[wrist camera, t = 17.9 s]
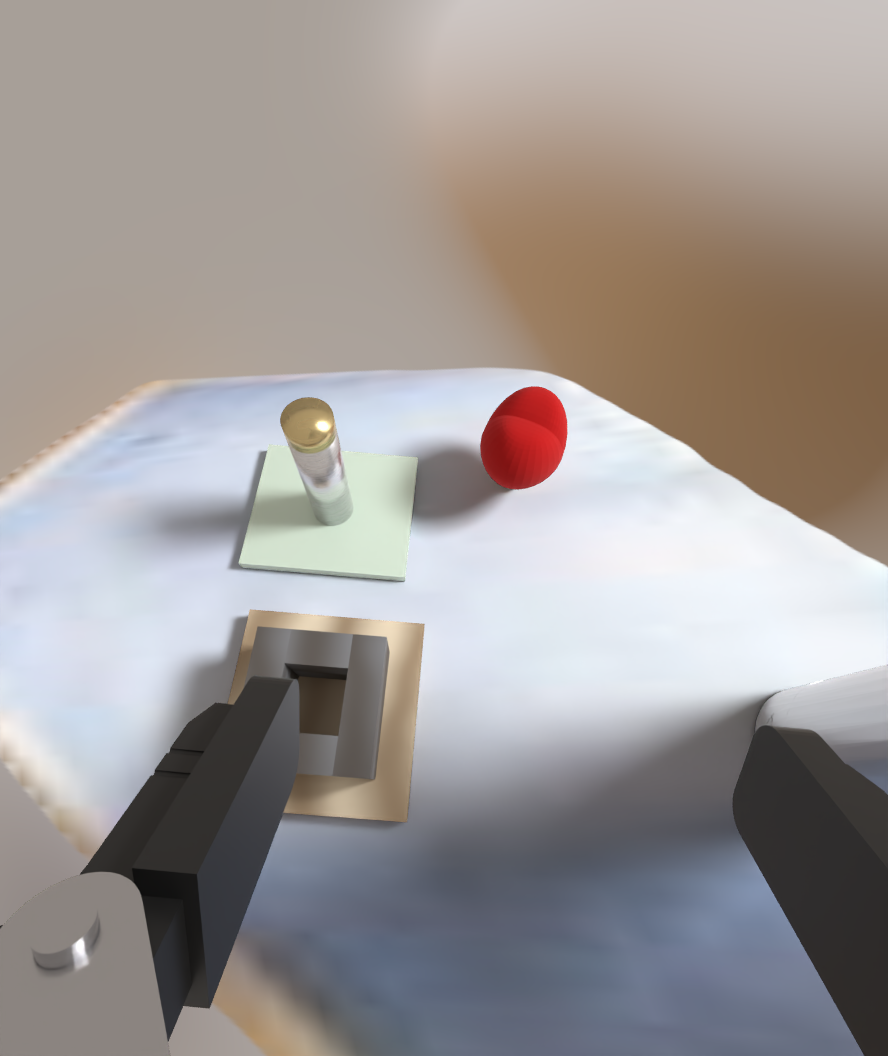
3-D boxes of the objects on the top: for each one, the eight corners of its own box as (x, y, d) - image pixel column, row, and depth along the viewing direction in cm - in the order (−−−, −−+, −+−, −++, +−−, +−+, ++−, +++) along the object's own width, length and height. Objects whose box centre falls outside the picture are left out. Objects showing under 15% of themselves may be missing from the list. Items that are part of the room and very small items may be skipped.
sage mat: (417, 463, 51) (417, 457, 50) (404, 581, 46) (404, 577, 45) (271, 450, 51) (268, 444, 50) (241, 567, 46) (238, 563, 45)
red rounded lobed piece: (529, 534, 48) (555, 478, 39) (458, 505, 49) (468, 443, 40) (560, 456, 52) (591, 388, 43) (494, 430, 53) (510, 359, 44)
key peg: (356, 493, 48) (337, 400, 36) (349, 527, 47) (328, 442, 35) (317, 489, 48) (286, 395, 36) (310, 523, 47) (275, 437, 35)
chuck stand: (424, 628, 44) (425, 605, 38) (407, 820, 38) (405, 827, 32) (255, 614, 44) (230, 589, 38) (210, 805, 38) (173, 810, 32)
